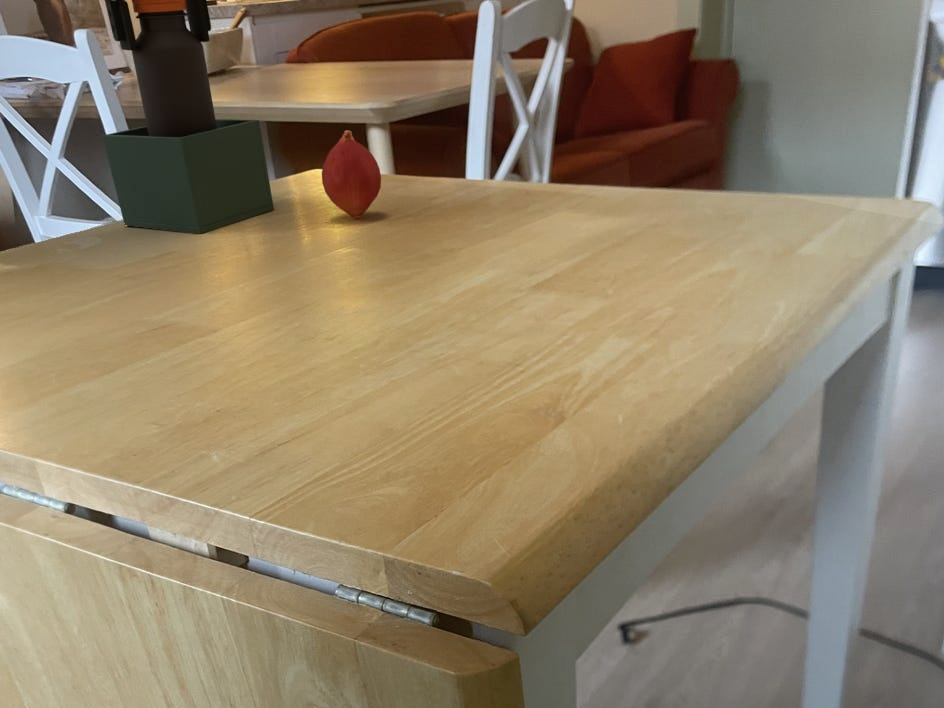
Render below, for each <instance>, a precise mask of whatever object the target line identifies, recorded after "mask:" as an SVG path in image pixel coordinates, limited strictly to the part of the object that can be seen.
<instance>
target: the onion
mask: <svg viewBox="0 0 944 708" xmlns="http://www.w3.org/2000/svg"><path fill="white" fill-rule="evenodd" d="M321 183H322V186H323V189H324V193H325V194H326V196H327V197H328V199H329V200H330V202H332V203H333V204H334V205H335V206H336V207H337V208H339V209H340V210H341V211H343V212H344V213H346V215H347V214H348V216H350V218H353V219H360V218H362V217H363V216H364V215H365V213H366V212H367V210H368V209H369V208H370V206H371V205H372V204H373V202H374V201H375V200H376V198H377V197H378V195H379V192H380V190H381V186H382V175H381V169H380V166H379V164H378V161H377V160H376V157H374V155H373V154H372V152H371V151H370V150H369V149H368V148H367V147H366V146H364V145H363V144H361V143H359V142H358V141H357V140H356V139H355V138H354V136H353V133H352V131H351V130H350V129H349V130H344V132H343V134H342V137H340V138H339V140H338V142H337V143H336V144H335V145H333V147H332V148H331V149H330V150H329V152H328V154H327V156H326V158H325V161H324V163H323V166H322V170H321Z"/></svg>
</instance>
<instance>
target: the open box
mask: <svg viewBox="0 0 944 708" xmlns="http://www.w3.org/2000/svg"><path fill="white" fill-rule="evenodd" d="M215 120H216V126H217V129H214V130H210V131H206V132H201V133H197V134H193V135H188V136H184V137H156V136H149V134H148V129H147V125H144V126H140V127H136V128H135V127H134V128H131V129H125V130H120V131H116V132H112V133H111V132H110V133H107V134H102V140H103V144H104V149H105V152H106V156H107V160H108V165H109V168H110V171H111V176H112V180H113V184H114V188H115V192H116V196H117V200H118V204H119V208H120V213H121V216H122V221H123V225H124V226H125V225H127V226H134V227H133V228H136V227H143V228H142V229H146V228H153V229H152V230H157V229H165V230H164V231H167V230H172V231H171V232H177V231H179V233H187V234H188V233H189V234H199V235H201V234H204V233H208V232H210V231H213V230H217V229H219V228H223V227H226V226H228V225H232V224H234V223H237V222H241V221H244V220H247V219H251V218H253V217H256V216H259V215H263V214H265V213H268V212H271V211H274V210H275V208H274V201H273V196H272V190H271V189H272V188H271V183H270V177H269V170H268V164H267V160H266V159H267V158H266V153H265V148H264V141H263V135H262V128H261V124H260V119H240V118H239V119H237V118H236V119H234V118H215ZM124 223H125V224H124Z"/></svg>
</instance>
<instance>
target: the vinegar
mask: <svg viewBox="0 0 944 708" xmlns="http://www.w3.org/2000/svg"><path fill="white" fill-rule="evenodd" d="M184 1H185V0H131V4H132V9H133V13H136V14H137V15H136V16H135V19H138V21H139V26H140V32H139V34H138V36H137V37H136V43H137V48H136V50H131V55H132V60H133V65H134V69H135V74H136V79H137V84H138V89H139V95H140V99H141V104H142V109H143V113H144V119H145V124H146V126H147V129H148V134H149V136H156V137H184V136H188V135H193V134H197V133H201V132H206V131H210V130H214V129H217V126H216V120H215V119H216V114H215V109H214V102H213V97H212V91H211V85H210V79H209V72H208V67H207V61H206V56H205V50H204V49H205V48H204V45H203V42H200V41H199V40H198V39H197V38H196V37H195V36H194V35H193V34H192V33H191V32H190V29H188V27H187V22H186V17H187V12H185V11H186V10H187V7H186V2H184Z"/></svg>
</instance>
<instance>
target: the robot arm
mask: <svg viewBox="0 0 944 708" xmlns="http://www.w3.org/2000/svg"><path fill="white" fill-rule="evenodd" d="M103 1H104V3H105V4H104V5H105V8H106V12H107V16H108V20H109V24H110V29H111V33H112V37H113V39H114V41H115V42H119V45H120V46H119V47H120V48H121V50H123V51H132V50H136V48H137V43H136V39H137V37H136V33H135V30H134V25H133V21H132V15H131V13H130V7H129V3H128V1H127V0H103ZM184 2H186V7H187V10H185V11H186V12H185V13H187V16H186V17H187V21H188V22H187V23H188V26H189V31H190V32H191V33H192V34H193V35H194V36H195V37H196V38H197V39H198V40H199V41H200V42H201V43H207V42H209V41H210V34H209V32H211V31H212V23H211V18H210V17H211V16H210V13H209V12H210V11H209V7H208V1H207V0H185V1H184Z"/></svg>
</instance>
